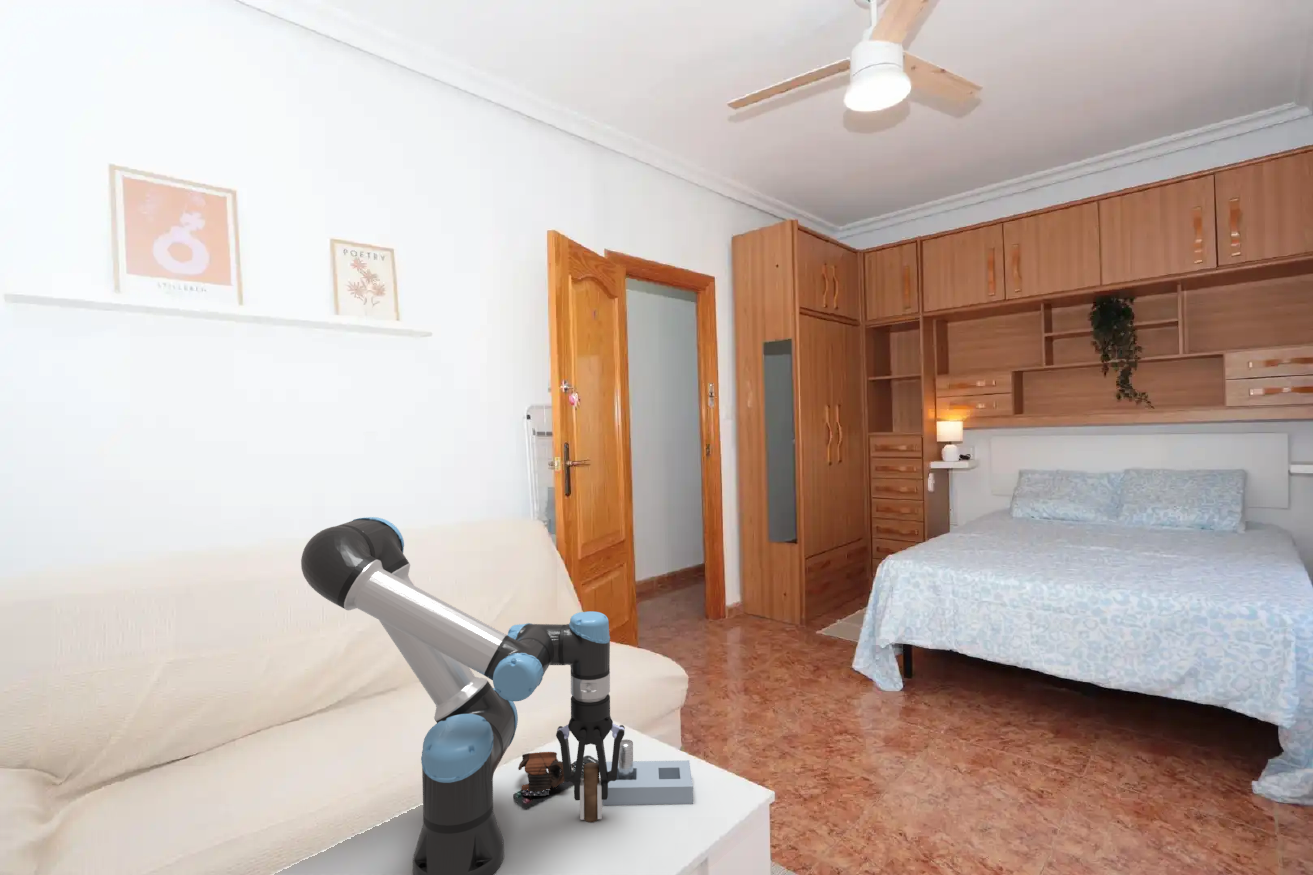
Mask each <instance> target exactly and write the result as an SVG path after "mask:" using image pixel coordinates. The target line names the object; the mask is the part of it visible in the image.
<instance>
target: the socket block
mask: <svg viewBox="0 0 1313 875" xmlns="http://www.w3.org/2000/svg"><path fill="white" fill-rule="evenodd" d="M606 764H607V771H608V772H609V771H611V767H612V761H606ZM689 804H690V805H691V804H694V785H693V778H692V771H691V763H690V760H686V759H685V760H644V761H643V760H641V761H640V760H639V761H635V760H633V780H619V761H618V770H617V779H616V781H610V782H609V783H608V797H607V800H602V806H631V805H632V806H633V805H634V806H635V805H636V806H637V805H638V806H639V805H640V806H642V805H689Z"/></svg>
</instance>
